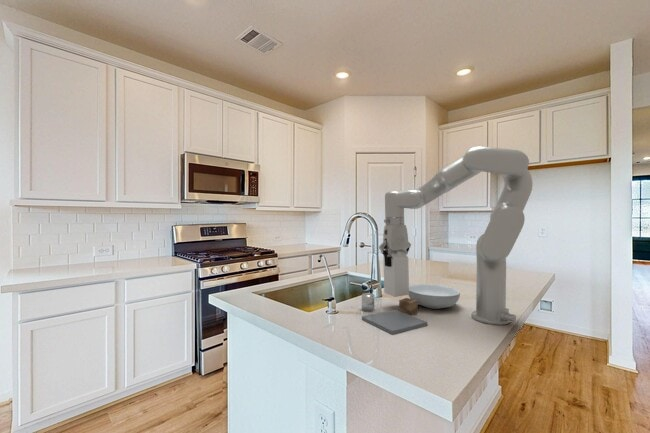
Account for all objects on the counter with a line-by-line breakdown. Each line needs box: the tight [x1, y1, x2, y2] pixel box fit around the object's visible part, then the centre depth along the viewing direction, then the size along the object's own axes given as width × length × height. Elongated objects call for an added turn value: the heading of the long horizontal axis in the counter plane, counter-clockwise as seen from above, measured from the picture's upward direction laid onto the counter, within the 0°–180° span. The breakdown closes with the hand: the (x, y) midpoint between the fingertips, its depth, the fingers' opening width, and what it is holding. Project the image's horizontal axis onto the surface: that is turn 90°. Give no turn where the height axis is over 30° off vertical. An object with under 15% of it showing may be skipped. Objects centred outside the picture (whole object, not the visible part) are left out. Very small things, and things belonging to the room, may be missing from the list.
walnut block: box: [398, 297, 419, 316], centre depth 121 cm, size 5×5×5 cm
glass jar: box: [361, 292, 375, 313], centre depth 125 cm, size 5×5×6 cm
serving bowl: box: [408, 283, 461, 310], centre depth 131 cm, size 21×21×7 cm
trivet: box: [361, 309, 429, 336], centre depth 111 cm, size 16×16×1 cm
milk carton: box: [382, 248, 410, 298], centre depth 127 cm, size 7×7×19 cm
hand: (395, 265), depth 127 cm, fingers closed on milk carton, 7 cm apart
